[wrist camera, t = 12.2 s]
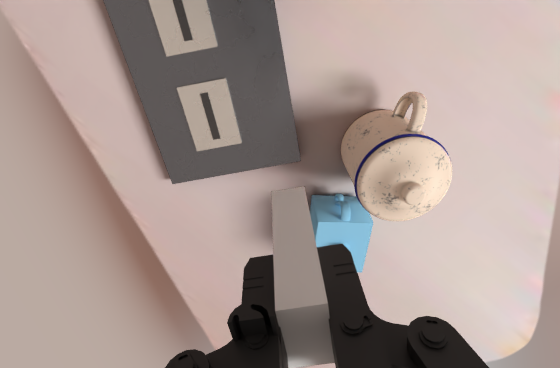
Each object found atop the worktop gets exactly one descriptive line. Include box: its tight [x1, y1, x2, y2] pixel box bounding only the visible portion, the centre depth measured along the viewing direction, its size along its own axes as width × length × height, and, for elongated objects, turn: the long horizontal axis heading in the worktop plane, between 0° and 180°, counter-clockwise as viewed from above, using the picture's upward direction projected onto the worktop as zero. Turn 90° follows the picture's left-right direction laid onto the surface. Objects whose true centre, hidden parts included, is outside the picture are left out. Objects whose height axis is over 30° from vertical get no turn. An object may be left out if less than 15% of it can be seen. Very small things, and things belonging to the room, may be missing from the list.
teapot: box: [310, 194, 373, 272], centre depth 42 cm, size 12×6×8 cm, turn 176°
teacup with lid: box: [341, 92, 452, 221], centre depth 35 cm, size 12×9×12 cm
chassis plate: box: [103, 0, 301, 184], centre depth 34 cm, size 28×15×2 cm, turn 10°
